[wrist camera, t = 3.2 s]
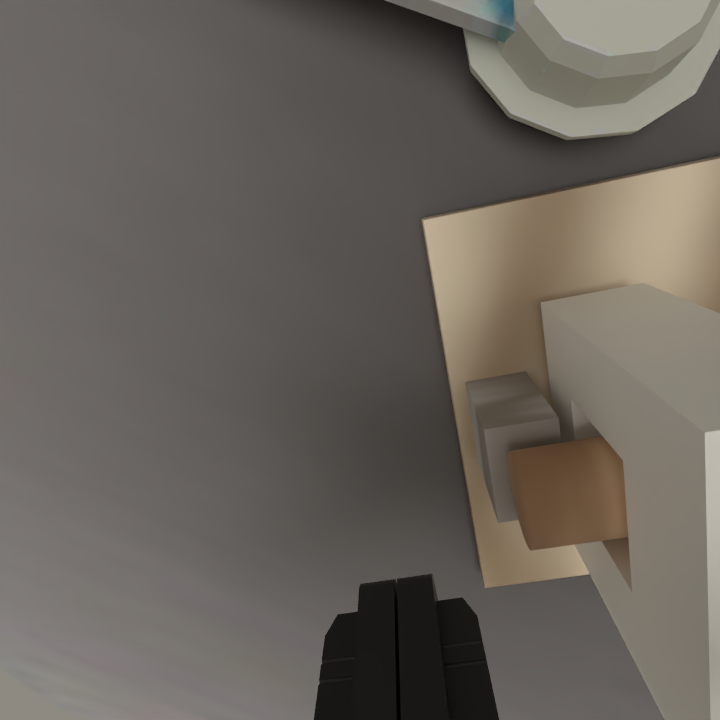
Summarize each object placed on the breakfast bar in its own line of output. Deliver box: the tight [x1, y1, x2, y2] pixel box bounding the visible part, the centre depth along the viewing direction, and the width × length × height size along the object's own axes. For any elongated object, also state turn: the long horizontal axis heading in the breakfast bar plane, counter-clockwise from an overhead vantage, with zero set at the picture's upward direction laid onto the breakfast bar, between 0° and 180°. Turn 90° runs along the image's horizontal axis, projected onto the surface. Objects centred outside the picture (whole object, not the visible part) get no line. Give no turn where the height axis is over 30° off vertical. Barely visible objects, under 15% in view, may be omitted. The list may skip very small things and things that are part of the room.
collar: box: [541, 283, 720, 720], centre depth 13 cm, size 3×8×9 cm, turn 12°
